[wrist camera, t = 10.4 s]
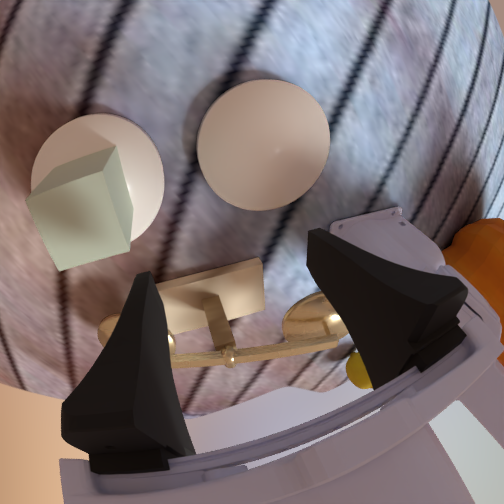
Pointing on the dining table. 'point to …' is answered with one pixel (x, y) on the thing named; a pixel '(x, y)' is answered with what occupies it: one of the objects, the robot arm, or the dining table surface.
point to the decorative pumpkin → (481, 262)
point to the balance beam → (295, 332)
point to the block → (84, 209)
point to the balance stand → (214, 299)
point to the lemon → (357, 371)
